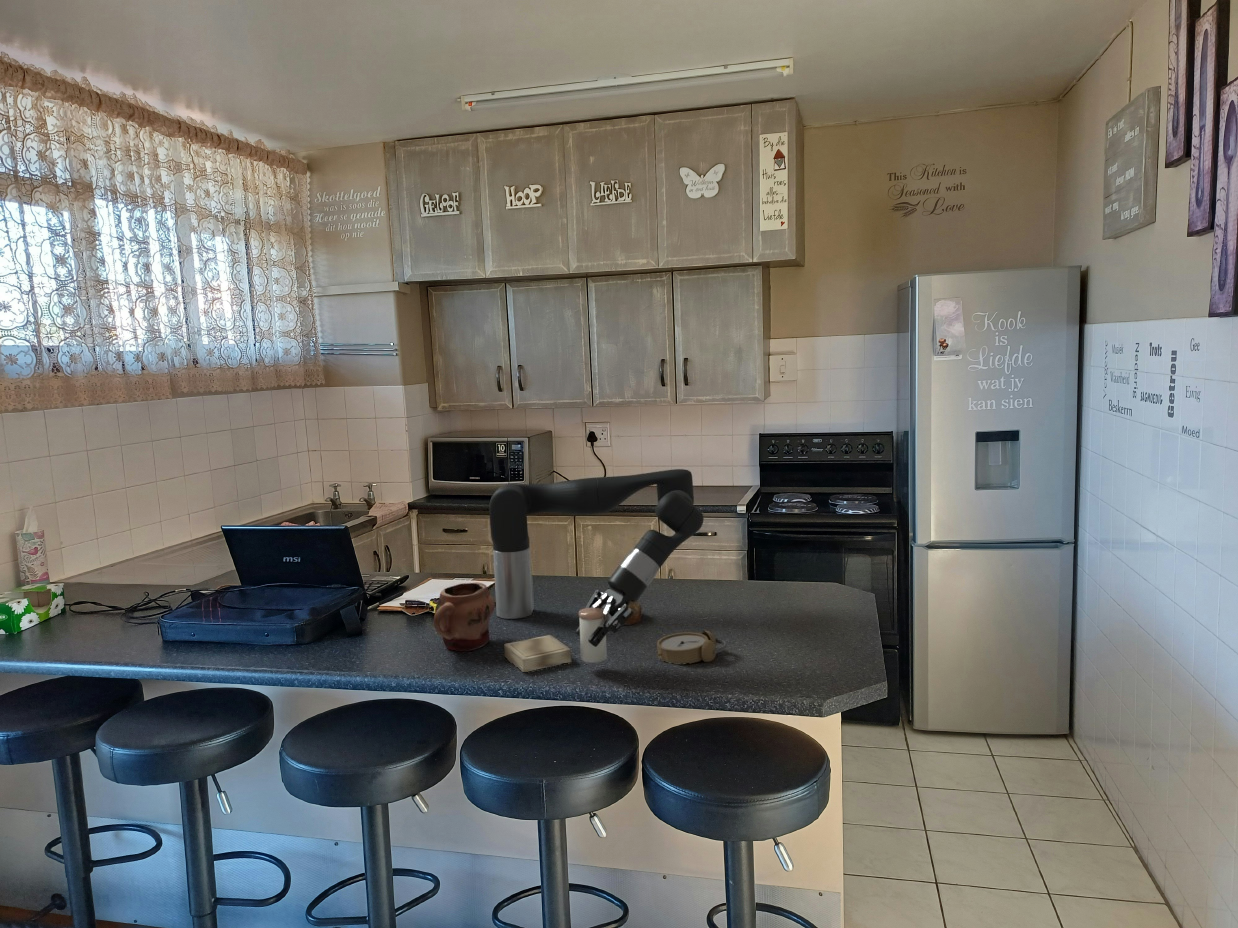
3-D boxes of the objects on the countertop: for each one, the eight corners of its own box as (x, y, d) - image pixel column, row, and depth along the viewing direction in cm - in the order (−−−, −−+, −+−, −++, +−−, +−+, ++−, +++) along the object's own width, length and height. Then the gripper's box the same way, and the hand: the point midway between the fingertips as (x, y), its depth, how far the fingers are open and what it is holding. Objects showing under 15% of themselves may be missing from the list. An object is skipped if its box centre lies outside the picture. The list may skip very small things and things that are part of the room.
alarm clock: (656, 634, 188) (722, 623, 186) (661, 655, 189) (727, 644, 187) (653, 652, 177) (723, 640, 175) (658, 674, 178) (728, 663, 176)
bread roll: (599, 635, 208) (593, 611, 204) (613, 606, 216) (607, 583, 212) (637, 638, 204) (631, 614, 200) (649, 610, 212) (643, 586, 208)
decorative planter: (466, 665, 181) (462, 603, 179) (417, 660, 185) (412, 599, 183) (508, 635, 199) (505, 578, 197) (462, 630, 203) (459, 575, 201)
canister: (587, 651, 179) (586, 606, 178) (611, 654, 177) (610, 609, 175) (575, 660, 174) (574, 614, 173) (599, 664, 172) (598, 617, 170)
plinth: (550, 647, 190) (550, 634, 190) (571, 662, 180) (570, 648, 180) (505, 657, 185) (504, 643, 184) (523, 673, 175) (522, 658, 175)
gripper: (662, 593, 173) (612, 660, 169) (628, 577, 186) (581, 639, 182) (639, 572, 170) (588, 640, 166) (606, 557, 182) (558, 620, 179)
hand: (585, 639), depth 174 cm, fingers closed on canister, 5 cm apart
